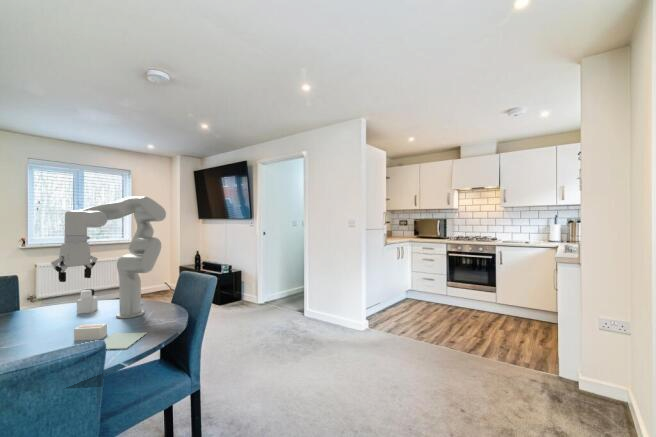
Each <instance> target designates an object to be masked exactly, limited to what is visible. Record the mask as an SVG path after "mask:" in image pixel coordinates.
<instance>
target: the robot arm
mask: <svg viewBox="0 0 656 437" xmlns="http://www.w3.org/2000/svg"><path fill="white" fill-rule="evenodd" d="M132 214H133V217H134V220H135V223H136V226H137V227H136V230H135V233H134V235H133V237H132V238H131V240H130V243H129V246H128V251H129V253H130V254H124V255H121V256H119V258H118V259H117V262H116V270H117V273H118V282H119V283H118V285H119V286H118V287H119V289H118V290H119V292H118V293H119V312H117V313H116V314H115V317H116V318H117V319H130V318H131V319H132V318H135V317H139V316H142V315H144V314H145V309H142V307H143V306H144V303H143V302H142V281H141V277H140V275H139V274H147V273H150V272H151V271H152V270H154V266H155V265H156V263H157V260H158V258H159V256H160V253H161V251H162V242H161V240H160V239H159V238H158V237H155V236H154V233H155V230H154V228H153V226H152V224H151V222H163V221H164V220H165V219H166V217H167V211H166V209H165V208H164V207H163V206H162V205H161V204H159V203H158V202H157V201H156V200H154V199H152V198H151V197H149V196H147V195H146V196H128V197H125V198H121V199H118V200H115V201H112V202H109V203H103V204H99V205H95V206H89V207H86V208H83V209H79V210H67V211H65V213H64V242H63V243H61V246H60V248H59V256H58V258H57V259H55V260H52V261H51V262H50V264H51V266H52V267H53V269H54V270H55V271H56V272H57V273H58V282H60V283H61V282H62V283H66V282H67V272H65V271H67V269H68V268H72V267H73V268H74V267H81V266H84V267H85V268H84V271H83V277H84V279H90V278H91V277H92V269H94V268H93V267H94V266H95V265H96V263H97V261H98V258H97V257H95V256H94V255H91V249H90V244H89V242H88V240H90V239H91V238H90V236H88V228H92V229H93V228H95V229H97V228H102V227H104V226H105V225H106V224H107V222H108V221H112V220H117V219H118V220H119V219H122V218H124V217H126V216H129V215H132Z"/></svg>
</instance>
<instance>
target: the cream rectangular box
mask: <svg viewBox="0 0 656 437" xmlns="http://www.w3.org/2000/svg"><path fill="white" fill-rule="evenodd" d="M107 326H108V324H107V323H97V324H94V323H93V324H81V325H80V326H77V327H75V328H74V329H73V341H89V340H90V341H92V340H93V341H94V340H98V341H99V340H101V339H103V338H105V337H106V336H107V335H108V327H107Z"/></svg>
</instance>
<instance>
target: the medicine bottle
mask: <svg viewBox="0 0 656 437" xmlns="http://www.w3.org/2000/svg"><path fill="white" fill-rule="evenodd" d="M98 298H99V297H98V296H95V290H94V289H93V288H87V289H82V290H81V291H80V298H79V299H78V300H77V301H76V314H77V315H79V314H81V315H82V314H89V313H90V314H92V313H94V312H96V310H98V308H99V306H98V305H99V303H98V300H99V299H98Z"/></svg>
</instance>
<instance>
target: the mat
mask: <svg viewBox="0 0 656 437" xmlns="http://www.w3.org/2000/svg"><path fill="white" fill-rule="evenodd" d="M145 334H146V335H147V334H148V332H130V333H129V332H126V333H123V332H122V333H121V332H120V333H112V334H111V335H109V336H107V337H106V338H105V339H103V340H105V342H106V344H107V350H106V351H111V350H110V349H120V350H128V349H129V348H130V347H132V346H133V345H134V344H135V342H136V341H137V340H138V341H140V340H141V339H142V338H143V336H144V335H145ZM146 335H145V336H146ZM145 336H144V337H145ZM141 337H142V338H141ZM140 338H141V339H140ZM139 339H140V340H139ZM138 341H137V342H138ZM137 342H136V343H137ZM132 344H133V345H132ZM131 345H132V346H131ZM128 347H129V348H128ZM127 348H128V349H127Z"/></svg>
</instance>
